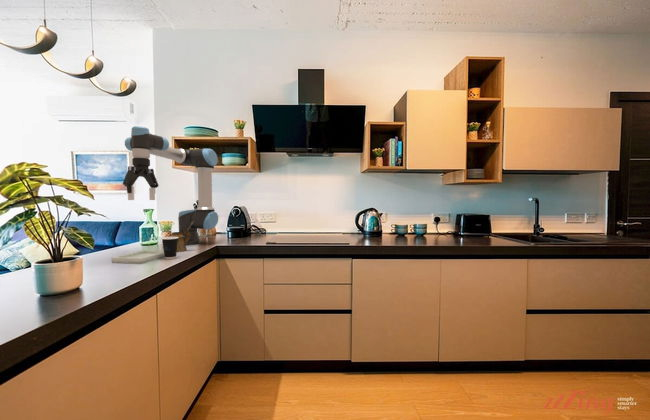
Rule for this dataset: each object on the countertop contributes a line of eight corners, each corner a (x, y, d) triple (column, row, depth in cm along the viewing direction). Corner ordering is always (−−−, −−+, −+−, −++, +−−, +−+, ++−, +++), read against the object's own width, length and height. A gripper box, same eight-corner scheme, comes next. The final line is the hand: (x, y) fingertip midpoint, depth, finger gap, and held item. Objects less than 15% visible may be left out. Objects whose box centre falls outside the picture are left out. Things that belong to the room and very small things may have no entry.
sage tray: (144, 254, 155) (144, 250, 154) (170, 255, 152) (170, 251, 152) (112, 262, 135) (111, 257, 135) (141, 263, 132) (141, 258, 132)
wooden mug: (194, 251, 164) (193, 221, 164) (167, 253, 159) (167, 221, 158) (195, 249, 172) (194, 220, 172) (170, 250, 167) (169, 220, 167)
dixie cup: (179, 256, 150) (178, 236, 150) (178, 259, 143) (178, 238, 143) (162, 257, 147) (161, 237, 146) (161, 260, 140) (160, 239, 139)
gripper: (153, 161, 155) (154, 199, 156) (112, 154, 130) (113, 200, 131) (165, 161, 154) (166, 199, 154) (126, 154, 129) (128, 200, 130)
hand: (142, 200), depth 143 cm, fingers open, 13 cm apart
